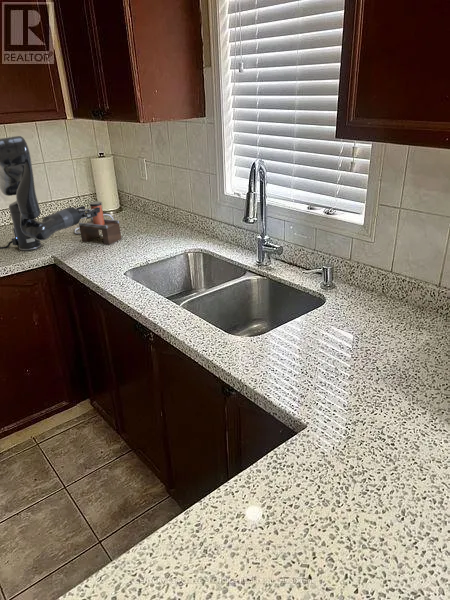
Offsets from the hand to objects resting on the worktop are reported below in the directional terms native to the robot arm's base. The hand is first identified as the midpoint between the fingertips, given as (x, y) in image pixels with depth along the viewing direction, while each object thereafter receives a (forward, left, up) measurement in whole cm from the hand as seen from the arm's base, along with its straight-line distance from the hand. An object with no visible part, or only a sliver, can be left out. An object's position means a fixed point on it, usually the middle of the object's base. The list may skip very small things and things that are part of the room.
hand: (91, 208), depth 199 cm
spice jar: (0, +3, -8) cm, 9 cm away
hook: (-14, +15, -16) cm, 26 cm away
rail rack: (0, +3, -16) cm, 16 cm away
